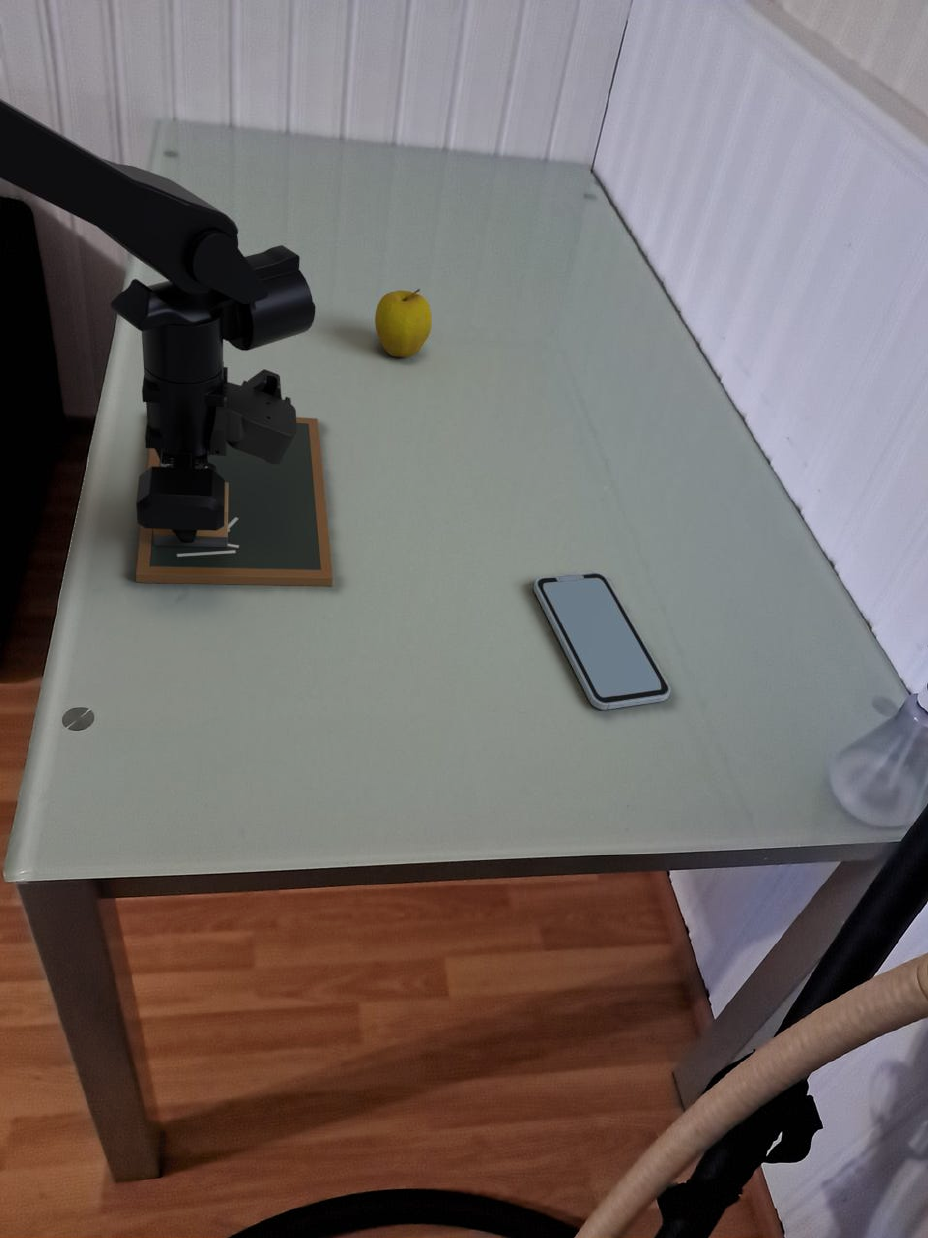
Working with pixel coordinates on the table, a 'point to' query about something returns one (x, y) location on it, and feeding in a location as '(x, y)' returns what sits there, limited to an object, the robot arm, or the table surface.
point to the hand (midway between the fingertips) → (188, 525)
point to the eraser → (202, 537)
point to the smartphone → (601, 641)
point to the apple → (403, 322)
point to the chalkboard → (257, 523)
